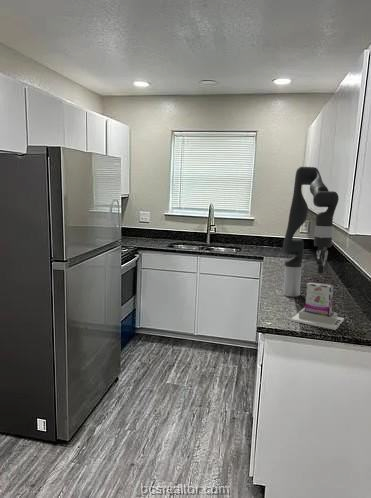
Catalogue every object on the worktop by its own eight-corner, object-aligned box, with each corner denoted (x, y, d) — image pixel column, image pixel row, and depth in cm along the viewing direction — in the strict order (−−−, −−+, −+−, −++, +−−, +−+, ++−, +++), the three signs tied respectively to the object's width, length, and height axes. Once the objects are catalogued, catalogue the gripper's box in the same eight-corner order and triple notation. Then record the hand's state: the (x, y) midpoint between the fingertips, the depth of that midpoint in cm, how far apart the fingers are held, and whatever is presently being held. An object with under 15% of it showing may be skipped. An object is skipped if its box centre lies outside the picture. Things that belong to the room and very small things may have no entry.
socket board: (301, 312, 186) (302, 304, 186) (344, 320, 175) (344, 311, 175) (290, 320, 173) (291, 312, 173) (336, 330, 162) (336, 321, 162)
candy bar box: (331, 319, 173) (334, 284, 171) (328, 322, 169) (331, 287, 167) (307, 314, 180) (309, 281, 177) (304, 317, 176) (306, 283, 173)
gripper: (318, 234, 176) (316, 270, 178) (310, 236, 165) (308, 274, 168) (335, 235, 172) (332, 272, 174) (328, 237, 161) (325, 277, 163)
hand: (320, 273), depth 171 cm, fingers closed
